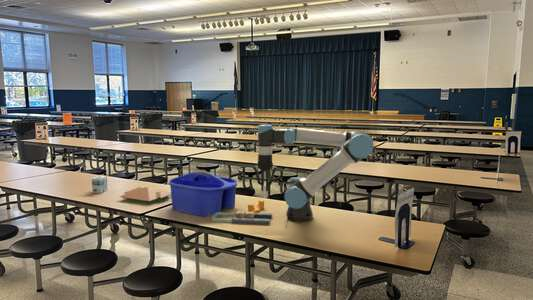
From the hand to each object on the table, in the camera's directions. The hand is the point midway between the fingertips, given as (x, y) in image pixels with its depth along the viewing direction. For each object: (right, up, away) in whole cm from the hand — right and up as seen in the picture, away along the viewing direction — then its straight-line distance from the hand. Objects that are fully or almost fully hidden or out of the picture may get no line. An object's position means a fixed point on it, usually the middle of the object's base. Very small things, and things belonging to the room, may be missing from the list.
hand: (264, 197), depth 202 cm
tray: (-23, -14, +6) cm, 27 cm away
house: (-81, -8, +51) cm, 96 cm away
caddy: (-38, -11, +30) cm, 50 cm away
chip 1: (-13, -13, +4) cm, 19 cm away
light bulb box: (-120, -5, +69) cm, 138 cm away
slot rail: (-7, -14, +3) cm, 16 cm away
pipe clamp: (-5, -12, +19) cm, 23 cm away
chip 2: (-8, -13, +3) cm, 15 cm away
